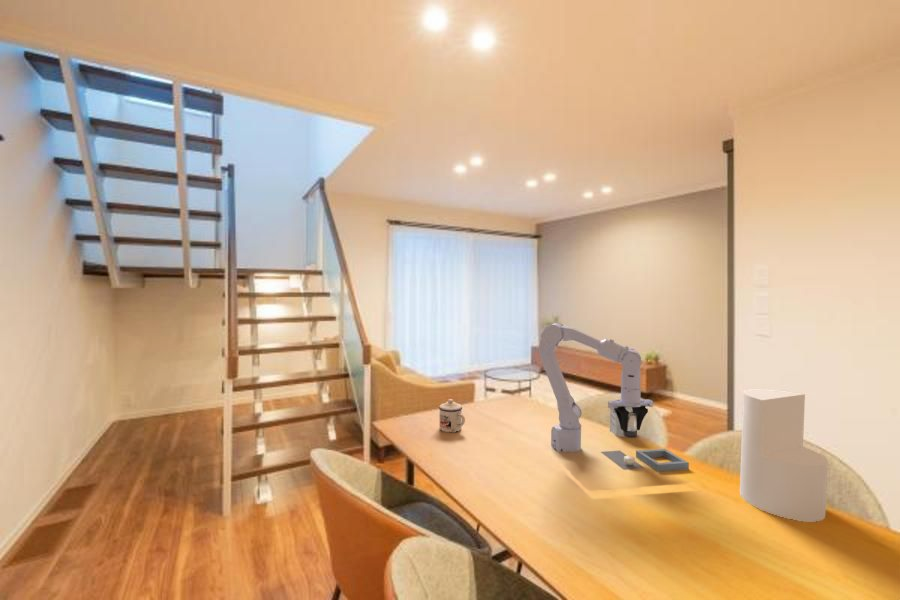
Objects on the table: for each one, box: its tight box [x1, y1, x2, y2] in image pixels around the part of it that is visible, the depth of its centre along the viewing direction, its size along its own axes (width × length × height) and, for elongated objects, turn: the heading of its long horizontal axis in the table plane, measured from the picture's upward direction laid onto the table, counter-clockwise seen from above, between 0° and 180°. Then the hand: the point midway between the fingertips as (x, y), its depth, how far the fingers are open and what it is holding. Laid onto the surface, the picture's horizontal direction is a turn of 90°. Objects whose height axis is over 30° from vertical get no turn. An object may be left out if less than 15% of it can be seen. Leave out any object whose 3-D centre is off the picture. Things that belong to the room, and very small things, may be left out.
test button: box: [624, 455, 636, 465], centre depth 123 cm, size 3×3×2 cm
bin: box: [635, 448, 690, 472], centre depth 125 cm, size 10×10×4 cm
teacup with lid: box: [438, 398, 466, 433], centre depth 156 cm, size 12×9×12 cm
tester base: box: [600, 450, 645, 471], centre depth 127 cm, size 13×7×2 cm, turn 9°
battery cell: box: [623, 411, 638, 439], centre depth 128 cm, size 4×4×8 cm
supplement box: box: [609, 407, 633, 438], centre depth 150 cm, size 7×7×13 cm
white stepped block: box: [739, 388, 829, 523], centre depth 104 cm, size 17×17×28 cm
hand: (630, 429), depth 128 cm, fingers closed on battery cell, 4 cm apart
